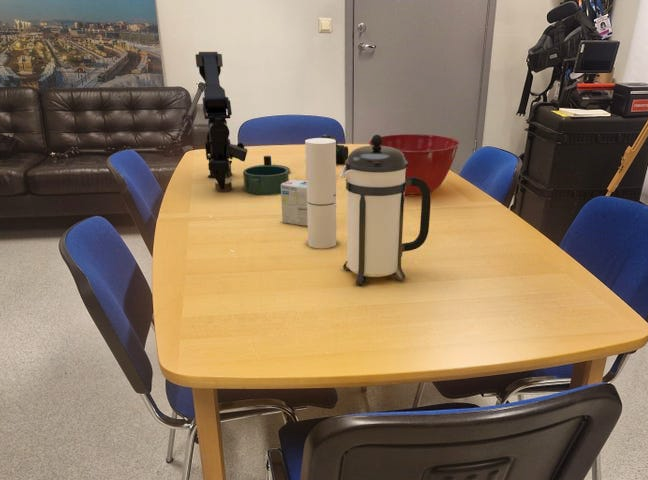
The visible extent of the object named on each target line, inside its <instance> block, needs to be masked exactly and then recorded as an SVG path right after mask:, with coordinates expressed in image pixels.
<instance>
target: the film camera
mask: <svg viewBox="0 0 648 480" xmlns="http://www.w3.org/2000/svg"><path fill="white" fill-rule="evenodd" d="M320 138H329V139H334V140H336V165H339V164H341V165H342V164H343V165H345V161H346V160H347V159H348V156H349V154H350V152H349V147H348V146H347V145H346V146H345V145H344V144H338V140H337V138H336V137H335V136H334V135H329V134H322V135H321V137H320Z"/></svg>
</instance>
